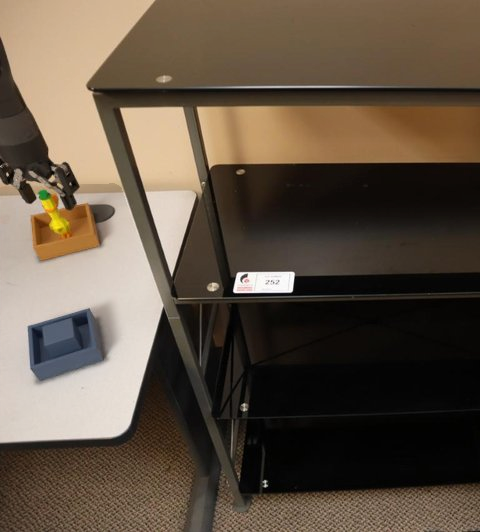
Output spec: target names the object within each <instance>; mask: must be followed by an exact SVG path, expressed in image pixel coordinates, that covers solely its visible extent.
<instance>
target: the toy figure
mask: <svg viewBox="0 0 480 532" xmlns="http://www.w3.org/2000/svg"><path fill="white" fill-rule="evenodd" d="M37 194H38V199H39V200H40V203H41V204H42V208H43V210H44V212H47V213H48V214H49V215H50V216H51V218H52V221H51V223H50V224H49V227H50V229H51V230H54V231H55V232H56V233H58V234H61V235H62V239H64V238H66V237H67V238H69V237H71V236H72V232H71V231H69V228H70V227H71V223H70V222H67V220H66V219H65V218H63V217H61V216H60V214H59V211H58V209H59V204H60V199H59V196H58V193H57V192H55V193H54V192H53V193H50V192H48V191H47V189H41V190H39V191H38V192H37Z"/></svg>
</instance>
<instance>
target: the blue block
mask: <svg viewBox="0 0 480 532" xmlns="http://www.w3.org/2000/svg"><path fill="white" fill-rule="evenodd" d="M42 328H43V338H44V346H45V348H46V349H47V350H48V352H49V353H50V355H51V356H52V357H53V359H55V358H58V357H61V356H64V355H67V354H70V353H73V352H76V351H80V350H83V344H82V338H81V333H80V331H79V330H78V328H77V326H76V325H75V323H74V321H73V320H72V318H69V319H66V320H63V321H59V322H56V323H53V324H50V325H46V326H43V327H42Z"/></svg>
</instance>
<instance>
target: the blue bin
mask: <svg viewBox="0 0 480 532" xmlns="http://www.w3.org/2000/svg"><path fill="white" fill-rule="evenodd" d="M69 318H72V320H73V321H74V323H75V325H76V326H77V328H78V330H79V331H80V333H81V338H82V344H83V350H80V351H76V352H73V353H70V354H67V355H64V356H61V357H58V358H55V359H53V357H52V356H51V355H50V353H49V352H48V350H47V349H46V348H45V346H44V338H43V328H42V327H43V326H46V325H50V324H53V323H56V322H59V321H63V320H66V319H69ZM27 341H28V355H29V356H28V357H29V369H30V371H31V372H32V373H33V375H34V376H35V377H36V379H37V380H38V381H39V382H42V381H44V380H47V379H50V378H54V377H56V376H59V375H63V374H65V373H68V372H71V371H74V370H78V369H80V368H84V367H87V366H90V365H92V364H95V363H99V362H102V361H104V354H103V349H102V344H101V343H102V342H101V338H100V332H99V327H98V322H97V319H96V317H95V315H94V313H93V311H92V309H91V308H90V307H88V308H86V309H82V310H78V311H74V312H71V313H68V314H65V315H60V316H58V317H54V318H50V319H47V320H43V321H41V322H37V323H34V324H30V325H27Z"/></svg>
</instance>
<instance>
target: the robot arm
mask: <svg viewBox="0 0 480 532" xmlns="http://www.w3.org/2000/svg"><path fill="white" fill-rule="evenodd" d="M7 174H8V175H7ZM52 176H53V177H54V179H53V181H50V179H51V178H52ZM0 180H1V182H2V183H3V184H4V185H5V186H9V185H11V186H12V187H13V189H16V190H17V191H18V193H19V195H20V196H21V199H22V200H24V202H25V203H26V204H28V205H32V204H33V203H34V202H36V201H37V199H38V198H37V197H38V196H37V195H36V194H35V191H34V190H33V187H32V186H31V184H30V182H32V183H33V182H35V183H38V184H42V185H44V187H46V188H47V189H49V190H53V191H54V192H55V193H56V194H57V195H59V198H60V201H61V202H62V204H63V206H64V208H66V210H70V211H71V210H72V209H73V208H74V207H75V206H76V205H78V202H77V200H76V197H75V195H74V194H75V193H76V192H77V191H78V190H79V189H80V188H81V186H80V184H79V182H78V180H77V177H76V176H75V174H74V172H73V169H72V168H71V166H70V164H69V163H68V162H67V161H63V162H62V163H60V164H59V163H55V162H54V161H53V160H51V158H50V157H49V146H48V144H47V142H46V140H45V138H44V136H43V133H42V131H41V129H40V128H39V125H38V123H37V121H36V118H35V117H34V115H33V113H32V111H31V110H30V108H29V107H28V105H27V104H26V101H25V99H24V97H23V95H22V92H21V91H20V88H19V86H18V84H17V83H16V81H15V78H14V76H13V73H12V68H11V65H10V61H9V58H8V55H7V51H6V48H5V45H4V43H3V40H2V37H1V36H0ZM28 182H29V183H28ZM58 184H59V185H60V186H61V187H62V188H61V187H60V186H59V185H58Z"/></svg>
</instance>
